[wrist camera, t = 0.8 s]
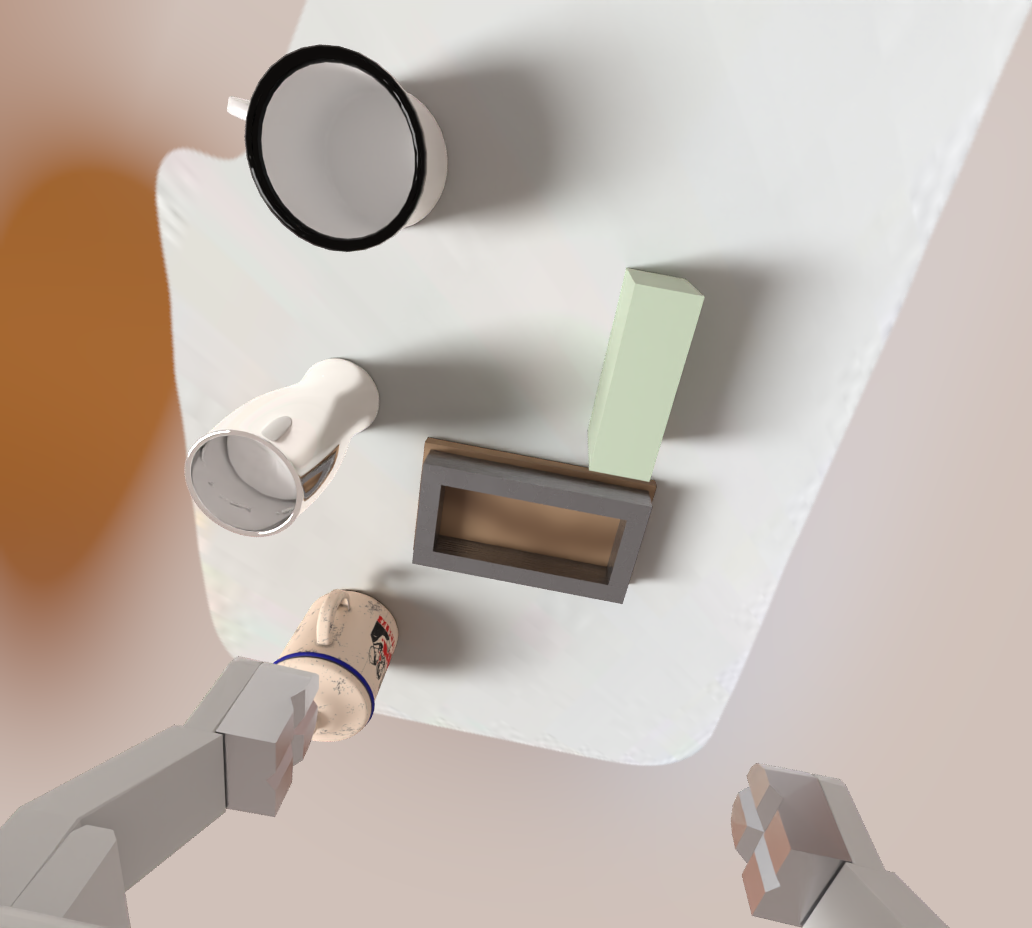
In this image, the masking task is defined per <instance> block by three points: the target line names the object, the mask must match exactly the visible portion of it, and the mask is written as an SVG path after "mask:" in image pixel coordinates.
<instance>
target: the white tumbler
mask: <svg viewBox="0 0 1032 928" xmlns="http://www.w3.org/2000/svg"><path fill="white" fill-rule="evenodd" d="M378 409H379V394H378V390H377V388H376V385H375V383H374V381H373V380H372V378H371V377H370V376H369V374H368V373H367V372H366V371H365V370H364V369H362V368H361V367H360V366H358V365H357V364H355V363H353V362H350V361H348V360H344V359H338V358H331V359H325V360H322V361H319V362H317V363H316V364H314V365H313V366H312V367H310V368H309V369H308V371H307V372H306V374H305V375H304V377H303V379H302V380H301V381H300V382H299V383H297V384H294V385H290V386H287V387H283V388H280V389H277V390H273V391H270V392H268V393H265V394H263V395H260V396H258V397H256V398H254V399H252V400H250V401H248V402H247V403H245V404H243V405H242V406H240V407H238V408H237V409H236V410H234V411H233V412H232V413H230V414H229V415H228V416H226V417H225V418H224V419H223V420H221V421H220V422H219V423H218V424H217V425H216V426H214V427H213V428H212V429H211V430H210V431H209V432H208V433H207V434H206V435H204V436H203V437H201V438H200V439H199V440H197V441H196V442H195V443H194V445H193V446H192V447H191V449H190V451H189V452H188V455H187V458H186V461H185V479H186V483H187V487H188V490H189V492H190V494H191V496H192V498H193V500H194V501H195V503H196V504H197V506H198V507H199V508H200V509H201V511H202V512H203V513H204V514H205V515H206V516H207V517H209V518H210V519H211V520H212V521H214V522H215V523H216V524H218V525H219V526H221V527H223V528H225V529H227V530H229V531H231V532H234V533H237V534H240V535H245V536H251V537H264V536H270V535H274V534H277V533H279V532H281V531H283V530H285V529H286V528H288V527H289V526H290V525H291V524H292V523H293V522H294V521H295V519H296V518H297V517H298V516H299V515H300V514H302V513H303V512H304V511H305V510H306V509H307V508H308V507H309V506H310V505H311V504H312V503H313V502H314V501H315V500H316V499H317V498H318V497H319V496H320V495H321V494H322V492H323V491H324V490H325V489H326V488H327V486H328V485H329V484H330V482H331V481H332V479H333V478H334V477H335V475H336V473H337V471H338V469H339V467H340V465H341V463H342V461H343V459H344V457H345V454H346V452H347V449H348V446H349V444H350V441H351V439H352V437H353V436H354V435H355V434H357V433H359V432H361V431H363V430H365V429H366V428H367V427H369V426H370V425H371V423H372V422H373V421H374V419H375V418H376V416H377V413H378Z"/></svg>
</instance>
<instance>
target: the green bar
mask: <svg viewBox="0 0 1032 928" xmlns="http://www.w3.org/2000/svg"><path fill="white" fill-rule="evenodd" d="M704 298H705V296H704V295H703V294H701V293H700V292H699V291H698V290H697V289H696V288H695V287H694V286H693V285H691V284H690V283H689V282H688V281H687V280H686V279H684V278H678V277H673V276H668V275H662V274H657V273H652V272H646V271H641V270H636V269H630V268H626V271H625V275H624V279H623V284H622V288H621V292H620V296H619V300H618V305H617V309H616V313H615V317H614V322H613V326H612V330H611V334H610V338H609V343H608V347H607V351H606V355H605V359H604V364H603V368H602V372H601V376H600V380H599V385H598V389H597V393H596V397H595V401H594V406H593V410H592V414H591V418H590V422H589V427H588V455H589V470H590V471H595V472H600V473H606V474H611V475H616V476H621V477H627V478H632V479H637V480H642V481H647V482H650V478H651V475H652V472H653V468H654V465H655V462H656V458H657V455H658V452H659V448H660V445H661V442H662V438H663V435H664V431H665V428H666V425H667V421H668V418H669V415H670V411H671V408H672V405H673V401H674V398H675V395H676V391H677V388H678V385H679V381H680V378H681V375H682V371H683V368H684V365H685V361H686V358H687V355H688V351H689V348H690V345H691V341H692V338H693V335H694V331H695V328H696V325H697V321H698V318H699V315H700V311H701V308H702V305H703V301H704Z"/></svg>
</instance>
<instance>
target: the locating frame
mask: <svg viewBox="0 0 1032 928" xmlns="http://www.w3.org/2000/svg"><path fill="white" fill-rule="evenodd" d="M656 487H657V485H656V482H655V480H650V482H647V481H642V480H637V479H632V478H627V477H621V476H616V475H611V474H606V473H600V472H595V471H590V470H589V468H586V467H581V466H576V465H571V464H565V463H560V462H555V461H550V460H544V459H539V458H534V457H529V456H523V455H518V454H513V453H508V452H502V451H497V450H492V449H487V448H481V447H476V446H471V445H466V444H461V443H455V442H450V441H445V440H440V439H434V438H429V437H428V438H427V440H426V441H425V447H424V456H423V465H422V474H421V483H420V493H419V502H418V511H417V520H416V529H415V539H414V548H413V550H414V552H413V561H412V563H413V564H418V565H423V566H428V567H434V568H439V569H444V570H449V571H454V572H459V573H465V574H470V575H475V576H480V577H485V578H490V579H496V580H501V581H506V582H511V583H516V584H522V585H527V586H532V587H537V588H542V589H547V590H553V591H558V592H563V593H568V594H573V595H578V596H584V597H589V598H594V599H599V600H604V601H610V602H615V603H620V604H623V601H624V597H625V594H626V591H627V588H628V584H629V581H630V578H631V575H632V571H633V568H634V565H635V562H636V558H637V555H638V552H639V549H640V545H641V542H642V539H643V536H644V532H645V529H646V526H647V523H648V519H649V516H650V513H651V510H652V501H653V497H654V494H655V491H656Z"/></svg>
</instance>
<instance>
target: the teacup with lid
mask: <svg viewBox="0 0 1032 928" xmlns="http://www.w3.org/2000/svg"><path fill="white" fill-rule="evenodd" d="M397 641H398V629H397V625H396V622H395V620H394V618H393V616H392V615H391V613H390V612H389V611H388V610H387V609H386V607H384V606H383V605H382V604H381V603H380V602H378V601H377V600H375V599H373V598H372V597H370V596H367V595H365V594H362V593H358V592H353V591H345V590H339V589H336V590H333V591H331V592H330V593H328V594H326V595H324V596H322V597H320V598H319V599H318V600H316V601H315V602H314V603H313V605H312V606H311V607H310V609H309V611H308V612H307V614H306V615H305V617H304V618H303V620H302V622H301V623H300V625H299V626H298V628H297V630H296V631H295V633H294V634H293V636H292V638H291V639H290V641H289V642H288V644H287V646H286V647H285V649H284V650H283V652H282V654H281V655H280V657H279V658H278V660H277V661H275V662H274V663H273V664H277V665H282V666H286V667H290V668H295V669H299V670H303V671H308V672H312V673H316V674H318V675H319V689H318V691H317V693H316V695H315V697H314V699H313V700H314V702H315V703H316V704H317V706H318V714H317V721H316V726H315V730H314V733H313V736H312V739H311V740H315V741H322V742H333V741H340V740H344V739H347V738H349V737H351V736H353V735H355V734H357V733H358V732H359V731H361V730H362V729H363V728H364V727H365V726H366V725H367V723H368V722H369V721H370V719H371V717H372V715H373V712H374V706H375V703H374V701H375V699H376V696H377V694H378V691H379V689H380V686H381V683H382V681H383V678H384V676H385V673H386V671H387V668H388V665H389V663H390V660H391V658H392V655H393V653H394V650H395V648H396V645H397Z"/></svg>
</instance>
